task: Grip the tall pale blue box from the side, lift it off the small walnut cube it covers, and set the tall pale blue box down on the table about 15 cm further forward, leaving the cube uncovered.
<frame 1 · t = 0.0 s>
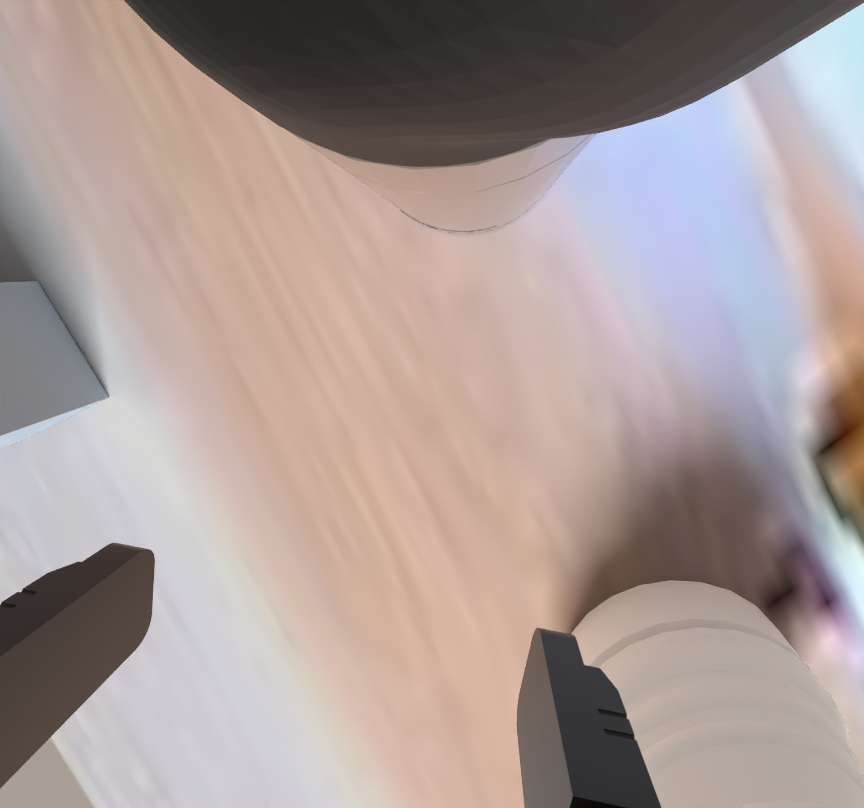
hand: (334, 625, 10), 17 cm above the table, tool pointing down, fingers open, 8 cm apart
tall pale blue box: (31, 363, 28), on the table
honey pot: (669, 672, 30), on the table
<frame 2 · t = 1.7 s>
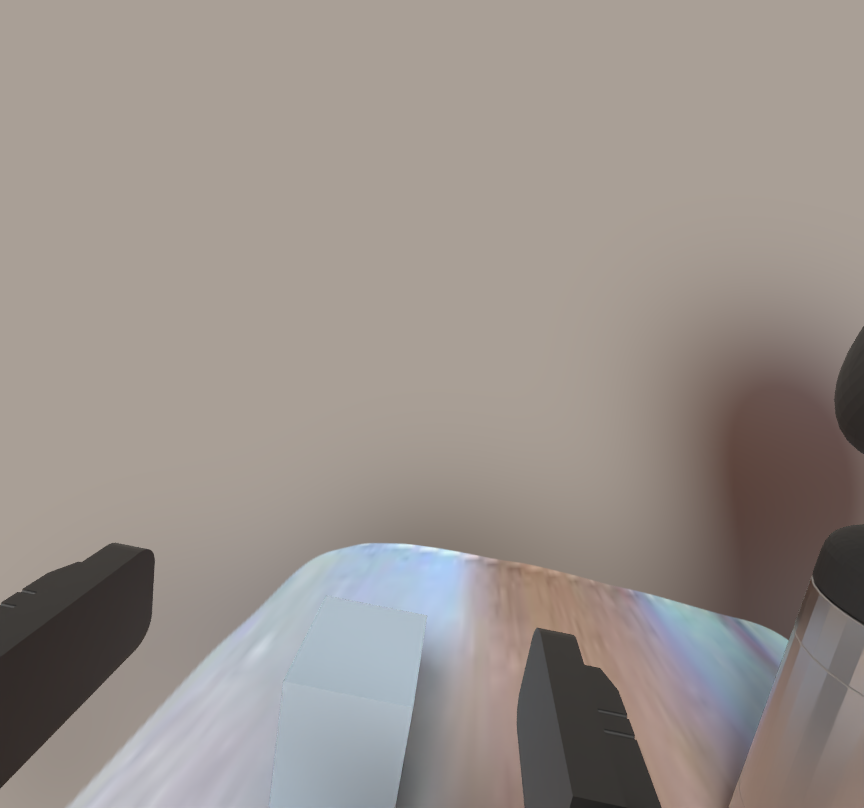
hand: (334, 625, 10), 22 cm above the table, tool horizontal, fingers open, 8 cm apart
tall pale blue box: (341, 794, 29), on the table
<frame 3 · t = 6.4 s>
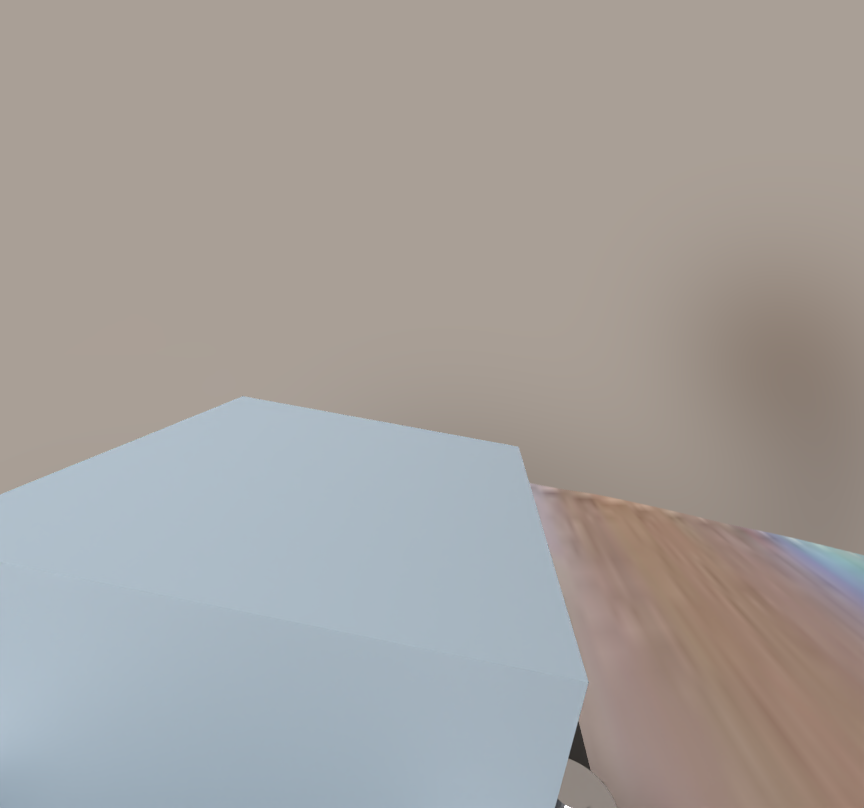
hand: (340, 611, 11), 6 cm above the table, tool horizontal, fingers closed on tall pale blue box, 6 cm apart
when the fingers open (7 cm above the table, at t = 11.6 s): tall pale blue box drops 1 cm, on the table.
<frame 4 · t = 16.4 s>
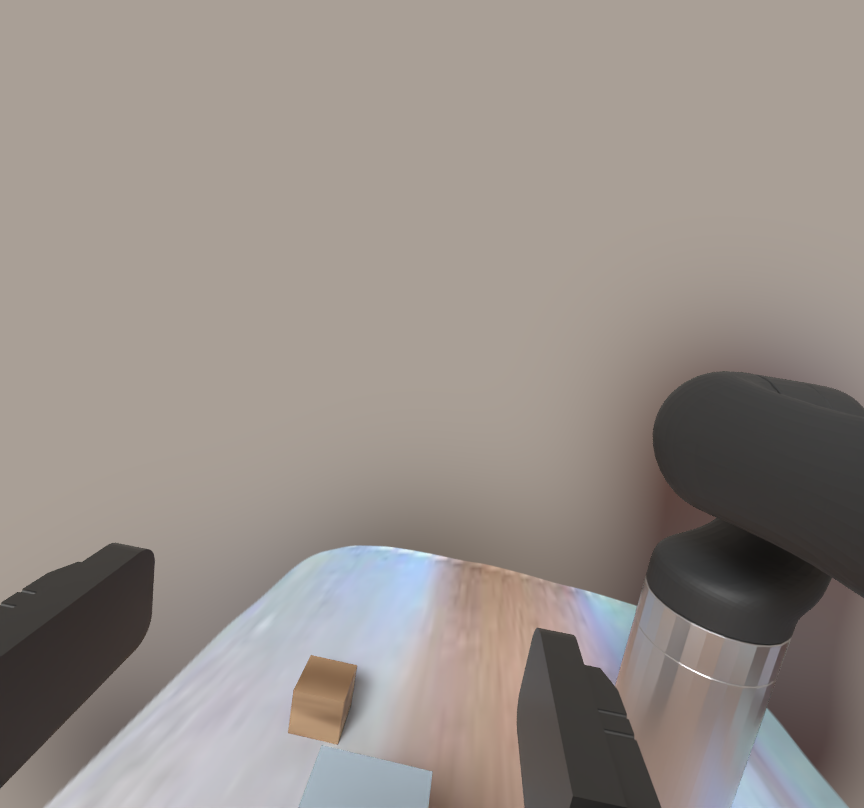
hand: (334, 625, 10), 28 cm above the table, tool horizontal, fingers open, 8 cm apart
cube: (320, 719, 42), on the table
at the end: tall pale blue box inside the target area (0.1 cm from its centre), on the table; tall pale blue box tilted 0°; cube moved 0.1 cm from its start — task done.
